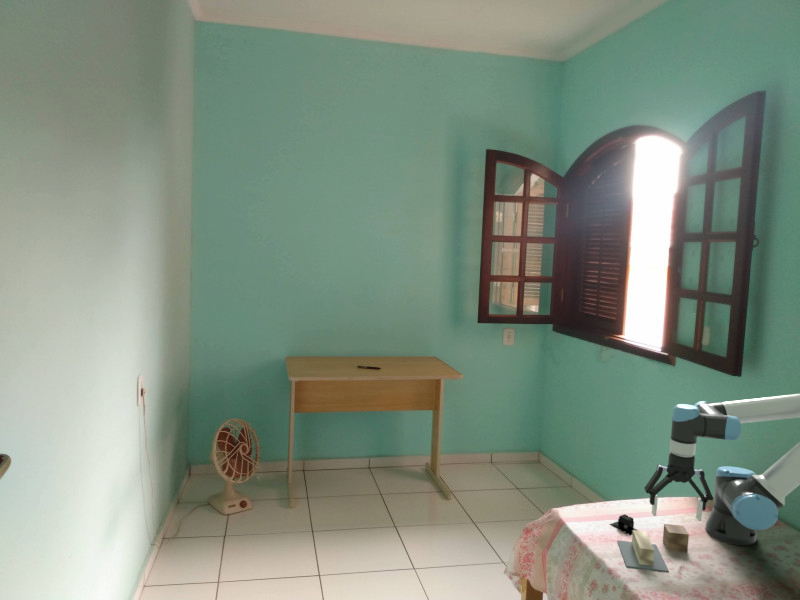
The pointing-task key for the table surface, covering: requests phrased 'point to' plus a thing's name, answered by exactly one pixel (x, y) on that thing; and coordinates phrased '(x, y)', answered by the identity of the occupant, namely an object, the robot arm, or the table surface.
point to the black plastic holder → (624, 524)
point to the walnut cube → (675, 537)
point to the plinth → (642, 547)
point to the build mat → (633, 562)
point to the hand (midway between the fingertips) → (676, 516)
